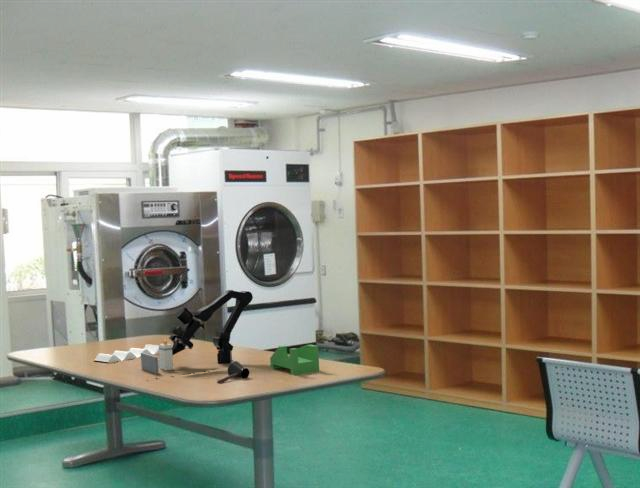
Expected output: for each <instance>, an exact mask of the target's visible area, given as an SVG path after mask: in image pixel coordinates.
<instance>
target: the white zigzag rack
mask: <svg viewBox="0 0 640 488" xmlns="http://www.w3.org/2000/svg"><path fill="white" fill-rule="evenodd" d="M141 353H146V354H149V355H152V356H155V355H159V344H149V343H146V344H145V346H144V347H143V348H138V347H130V348H129V350H128V351H125V350H124V351H123V350H114V352H113V353H112V354H107V353H98V354H97V355H96V357H95V358H94V361H93V362H94V363H99V364H100V363H101V364H112V362H113V363H118V362H123V361H127V360H132V359H138V358H139V357H140V358H141ZM140 358H139V359H140ZM117 361H118V362H117Z"/></svg>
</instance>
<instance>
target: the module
mask: <svg viewBox="0 0 640 488" xmlns="http://www.w3.org/2000/svg"><path fill="white" fill-rule="evenodd" d="M172 344H173V343H172ZM172 344H171V343H168V340H162V343H158V345H159V354H158V356H159V358H158V359H159V360H160V368H159V369H161V370H163V371H170V370H174V360H173V356H174V355H173V356H172V347H173V345H172Z"/></svg>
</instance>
